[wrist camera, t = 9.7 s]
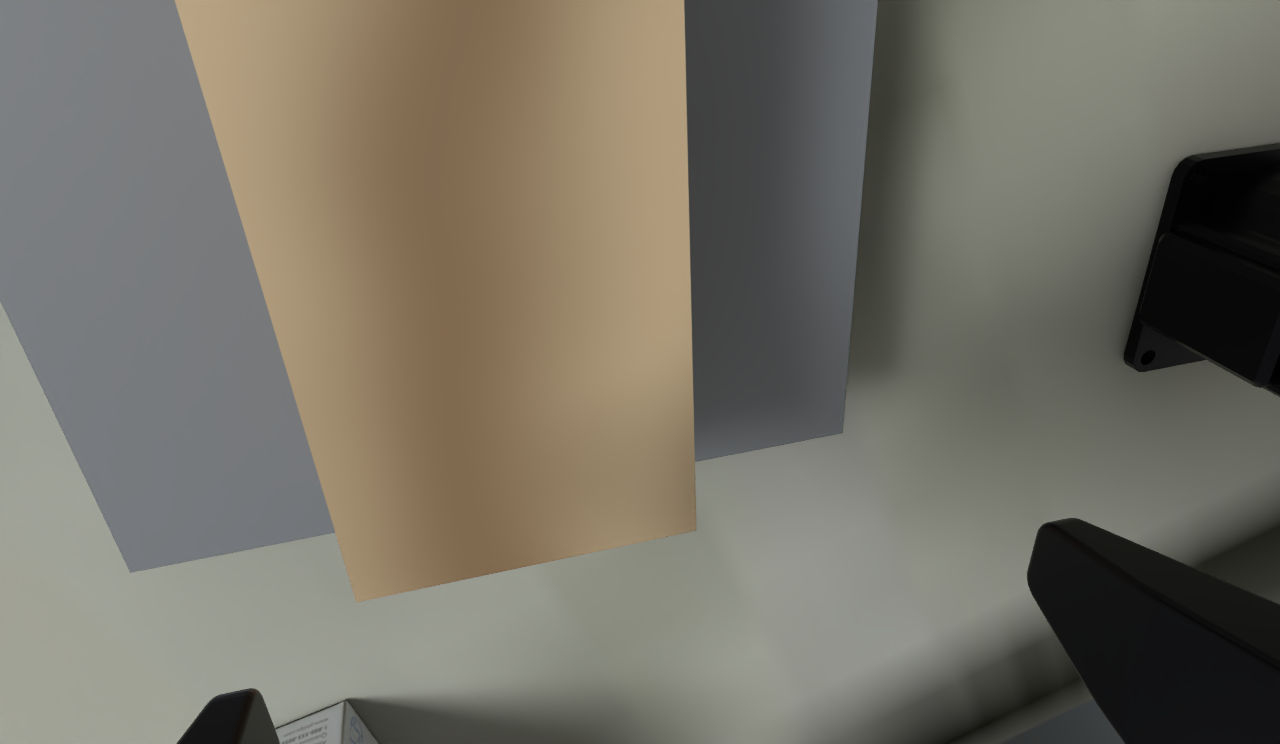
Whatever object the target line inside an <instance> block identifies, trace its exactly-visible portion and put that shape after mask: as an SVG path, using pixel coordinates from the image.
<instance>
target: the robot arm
mask: <svg viewBox="0 0 1280 744" xmlns="http://www.w3.org/2000/svg"><path fill="white" fill-rule="evenodd" d="M1194 173H1195V174H1194ZM1193 174H1194V176H1193ZM1192 176H1193V178H1192ZM1191 178H1192V179H1191ZM1202 360H1208V361H1210V362H1212V363H1214V364H1215V365H1217V366H1219V367H1221V368H1223V369H1224V370H1226V371H1228V372H1230V373H1232V374H1234V375H1235V376H1237V377H1239V378H1241V379H1243V380H1244V381H1246V382H1248V383H1250V384H1252V385H1253V386H1256V387H1260V388H1261V387H1263V388H1264V389H1266V390H1268V391H1270V392H1272V393H1273V394H1275V395H1277V396H1279V397H1280V143H1279V144H1271V145H1264V146H1257V147H1250V148H1243V149H1236V150H1229V151H1221V152H1214V153H1207V154H1200V155H1193V156H1190V157H1187V158H1185V159H1184V160H1183V161H1181V162H1180V163H1179V164H1178V166H1177V167H1176V168H1175V170H1174V172H1173V174H1172V177H1171V181H1170V185H1169V188H1168V192H1167V196H1166V200H1165V203H1164V207H1163V211H1162V214H1161V218H1160V222H1159V226H1158V229H1157V233H1156V237H1155V241H1154V244H1153V248H1152V252H1151V255H1150V259H1149V263H1148V267H1147V270H1146V274H1145V278H1144V281H1143V285H1142V289H1141V293H1140V296H1139V300H1138V304H1137V308H1136V311H1135V315H1134V319H1133V322H1132V326H1131V330H1130V334H1129V337H1128V341H1127V345H1126V348H1125V352H1124V362H1125V364H1127V365H1129V366H1130V367H1132V368H1133V369H1135V370H1137V371H1138V372H1146V371H1151V370H1156V369H1161V368H1166V367H1171V366H1176V365H1182V364H1187V363H1192V362H1197V361H1202ZM1027 581H1028V586H1029V588H1030V591H1031V593H1032V595H1033V597H1034V599H1035V601H1036V602H1037V604H1038V606H1039V607H1040V609H1041V611H1042V612H1043V614H1044V616H1045V618H1046V619H1047V621H1048V623H1049V624H1050V626H1051V628H1052V629H1053V631H1054V633H1055V635H1056V636H1057V638H1058V640H1059V641H1060V643H1061V645H1062V646H1063V648H1064V650H1065V652H1066V653H1067V655H1068V657H1069V658H1070V660H1071V662H1072V663H1073V665H1074V667H1075V669H1076V670H1077V672H1078V674H1079V675H1080V677H1081V679H1082V680H1083V682H1084V684H1085V686H1086V687H1087V689H1088V690H1089V692H1090V694H1091V695H1092V697H1093V698H1094V700H1095V702H1096V703H1097V705H1098V706H1099V708H1100V709H1101V711H1102V712H1103V713H1104V715H1105V716H1106V718H1107V719H1108V721H1109V722H1110V723H1111V725H1112V726H1113V728H1114V729H1115V730H1116V732H1117V733H1118V735H1119V736H1120V737H1121V739H1122V740H1123V742H1124V743H1125V744H1280V605H1279V604H1277V603H1275V602H1272V601H1270V600H1268V599H1265V598H1263V597H1261V596H1258V595H1256V594H1254V593H1251V592H1249V591H1247V590H1244V589H1242V588H1240V587H1237V586H1235V585H1233V584H1230V583H1228V582H1226V581H1223V580H1221V579H1219V578H1216V577H1214V576H1211V575H1209V574H1207V573H1204V572H1202V571H1200V570H1197V569H1195V568H1193V567H1190V566H1188V565H1186V564H1183V563H1181V562H1179V561H1176V560H1174V559H1172V558H1169V557H1167V556H1165V555H1162V554H1160V553H1158V552H1155V551H1153V550H1151V549H1148V548H1146V547H1144V546H1141V545H1139V544H1137V543H1134V542H1132V541H1130V540H1127V539H1125V538H1122V537H1120V536H1118V535H1115V534H1113V533H1111V532H1108V531H1106V530H1104V529H1101V528H1099V527H1097V526H1094V525H1092V524H1090V523H1087V522H1085V521H1083V520H1080V519H1076V518H1067V519H1062V520H1057V521H1052V522H1048V523H1045V524H1043V525H1042V526H1041V527H1040V528H1039V530H1038V532H1037V536H1036V540H1035V544H1034V547H1033V551H1032V555H1031V559H1030V563H1029V567H1028V571H1027ZM177 744H280V742H279V738H278V735H277V733H276V730H275V728H274V725H273V722H272V720H271V717H270V715H269V712H268V709H267V707H266V704H265V702H264V699H263V697H262V695H261V693H260V692H259V691H258V690H256V689H251V688H250V689H245V690H240V691H235V692H230V693H226V694H221V695H218V696H216V697H214V698H213V699H212V700H210V701H209V702H208V704H207V705H206V706H205V707H204V709H203V710H202V711H201V712H200V714H199V715H198V716H197V718H196V719H195V720H194V722H193V723H192V724H191V725H190V727H189V728H188V729H187V731H186V732H185V733H184V735H183V736H182V737H181V738H180V740H179V741H178V742H177Z"/></svg>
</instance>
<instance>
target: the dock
mask: <svg viewBox="0 0 1280 744" xmlns="http://www.w3.org/2000/svg"><path fill="white" fill-rule="evenodd" d="M877 5H878V0H684V13H685V57H686V100H687V144H688V187H689V231H690V274H691V318H692V361H693V405H694V448H695V462H697V461H702V460H707V459H712V458H717V457H722V456H728V455H733V454H738V453H743V452H748V451H753V450H758V449H763V448H768V447H773V446H778V445H784V444H789V443H794V442H799V441H804V440H809V439H814V438H819V437H824V436H829V435H835V434H840V433H843V422H844V410H845V398H846V385H847V373H848V361H849V348H850V336H851V324H852V312H853V299H854V287H855V275H856V263H857V250H858V238H859V226H860V214H861V201H862V189H863V177H864V165H865V152H866V140H867V128H868V116H869V103H870V91H871V79H872V67H873V54H874V42H875V30H876V18H877ZM0 301H1V303H2V305H3V307H4V309H5V312H6V314H7V316H8V318H9V320H10V322H11V324H12V326H13V328H14V330H15V332H16V335H17V337H18V339H19V341H20V343H21V345H22V347H23V349H24V351H25V353H26V355H27V358H28V360H29V362H30V364H31V366H32V368H33V370H34V372H35V374H36V376H37V378H38V381H39V383H40V385H41V387H42V389H43V391H44V393H45V395H46V397H47V399H48V401H49V404H50V406H51V408H52V410H53V412H54V414H55V416H56V418H57V420H58V422H59V424H60V427H61V429H62V431H63V433H64V435H65V437H66V439H67V441H68V443H69V445H70V447H71V450H72V452H73V454H74V456H75V458H76V460H77V462H78V464H79V466H80V468H81V470H82V473H83V475H84V477H85V479H86V481H87V483H88V485H89V487H90V489H91V491H92V493H93V496H94V498H95V500H96V502H97V504H98V506H99V508H100V510H101V512H102V514H103V516H104V519H105V521H106V523H107V525H108V527H109V529H110V531H111V533H112V535H113V537H114V539H115V542H116V544H117V546H118V548H119V550H120V552H121V554H122V556H123V558H124V560H125V562H126V565H127V567H128V569H129V571H130V573H131V572H136V571H142V570H147V569H152V568H157V567H162V566H167V565H172V564H177V563H182V562H187V561H192V560H198V559H203V558H208V557H213V556H218V555H223V554H228V553H233V552H238V551H243V550H249V549H254V548H259V547H264V546H269V545H274V544H279V543H284V542H289V541H294V540H299V539H305V538H310V537H315V536H320V535H325V534H330V533H335V530H334V526H333V523H332V520H331V516H330V513H329V510H328V506H327V503H326V500H325V496H324V493H323V490H322V487H321V483H320V480H319V477H318V473H317V470H316V467H315V463H314V460H313V457H312V453H311V450H310V447H309V443H308V440H307V437H306V434H305V430H304V427H303V424H302V420H301V417H300V414H299V410H298V407H297V404H296V400H295V397H294V394H293V391H292V387H291V384H290V381H289V377H288V374H287V371H286V367H285V364H284V361H283V357H282V354H281V351H280V347H279V344H278V341H277V338H276V334H275V331H274V328H273V324H272V321H271V318H270V314H269V311H268V308H267V304H266V301H265V298H264V295H263V291H262V288H261V285H260V281H259V278H258V275H257V271H256V268H255V265H254V261H253V258H252V255H251V251H250V248H249V245H248V242H247V238H246V235H245V232H244V228H243V225H242V222H241V218H240V215H239V212H238V208H237V205H236V202H235V199H234V195H233V192H232V189H231V185H230V182H229V179H228V175H227V172H226V169H225V165H224V162H223V159H222V155H221V152H220V149H219V146H218V142H217V139H216V136H215V132H214V129H213V126H212V122H211V119H210V116H209V112H208V109H207V106H206V103H205V99H204V96H203V93H202V89H201V86H200V83H199V79H198V76H197V73H196V69H195V66H194V63H193V59H192V56H191V53H190V50H189V46H188V43H187V40H186V36H185V33H184V30H183V26H182V23H181V20H180V16H179V13H178V10H177V7H176V3H175V0H0Z"/></svg>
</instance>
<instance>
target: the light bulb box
mask: <svg viewBox="0 0 1280 744" xmlns="http://www.w3.org/2000/svg"><path fill="white" fill-rule="evenodd" d="M275 730H276V733H277V735H278V738H279V742H280V744H378V742H377V741H376V740H375V738H374V737H373V736H372V734H371V733H370V732H369V730H368V729H367V727H366V726H365V725H364V723H363V722H362V720H361V719H360V718H359V716H358V715H357V714H356V712H355V711H354V709H353V708H352V707H351V705H350V704H349V703H348V701H346V700H345V701H342V702H341V703H339V704H337V705H334V706H332V707H330V708H327V709H325V710H322V711H320V712H317V713H315V714H312V715H310V716H307V717H305V718H303V719H300V720H298V721H295V722H293V723H290V724H288V725H285V726H283V727H280V728H278V729H275Z"/></svg>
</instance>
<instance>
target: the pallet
mask: <svg viewBox="0 0 1280 744" xmlns="http://www.w3.org/2000/svg"><path fill="white" fill-rule="evenodd" d="M175 3H176V7H177V10H178V13H179V16H180V20H181V23H182V26H183V30H184V33H185V36H186V40H187V43H188V46H189V50H190V53H191V56H192V59H193V63H194V66H195V69H196V73H197V76H198V79H199V83H200V86H201V89H202V93H203V96H204V99H205V103H206V106H207V109H208V112H209V116H210V119H211V122H212V126H213V129H214V132H215V136H216V139H217V142H218V146H219V149H220V152H221V155H222V159H223V162H224V165H225V169H226V172H227V175H228V179H229V182H230V185H231V189H232V192H233V195H234V199H235V202H236V205H237V208H238V212H239V215H240V218H241V222H242V225H243V228H244V232H245V235H246V238H247V242H248V245H249V248H250V251H251V255H252V258H253V261H254V265H255V268H256V271H257V275H258V278H259V281H260V285H261V288H262V291H263V295H264V298H265V301H266V304H267V308H268V311H269V314H270V318H271V321H272V324H273V328H274V331H275V334H276V338H277V341H278V344H279V347H280V351H281V354H282V357H283V361H284V364H285V367H286V371H287V374H288V377H289V381H290V384H291V387H292V391H293V394H294V397H295V400H296V404H297V407H298V410H299V414H300V417H301V420H302V424H303V427H304V430H305V434H306V437H307V440H308V443H309V447H310V450H311V453H312V457H313V460H314V463H315V467H316V470H317V473H318V477H319V480H320V483H321V487H322V490H323V493H324V496H325V500H326V503H327V506H328V510H329V513H330V516H331V520H332V523H333V526H334V530H335V533H336V536H337V539H338V543H339V546H340V549H341V553H342V556H343V559H344V563H345V566H346V569H347V573H348V576H349V579H350V583H351V586H352V589H353V592H354V596H355V599H356V602H360V601H365V600H369V599H374V598H379V597H384V596H388V595H393V594H398V593H403V592H407V591H412V590H417V589H422V588H426V587H431V586H436V585H440V584H445V583H450V582H455V581H459V580H464V579H469V578H474V577H478V576H483V575H488V574H493V573H497V572H502V571H507V570H512V569H516V568H521V567H526V566H530V565H535V564H540V563H545V562H549V561H554V560H559V559H564V558H568V557H573V556H578V555H583V554H587V553H592V552H597V551H601V550H606V549H611V548H616V547H620V546H625V545H630V544H635V543H639V542H644V541H649V540H654V539H658V538H663V537H668V536H673V535H677V534H682V533H687V532H691V531H696V492H695V448H694V405H693V361H692V318H691V274H690V231H689V187H688V144H687V100H686V57H685V13H684V0H175Z"/></svg>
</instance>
